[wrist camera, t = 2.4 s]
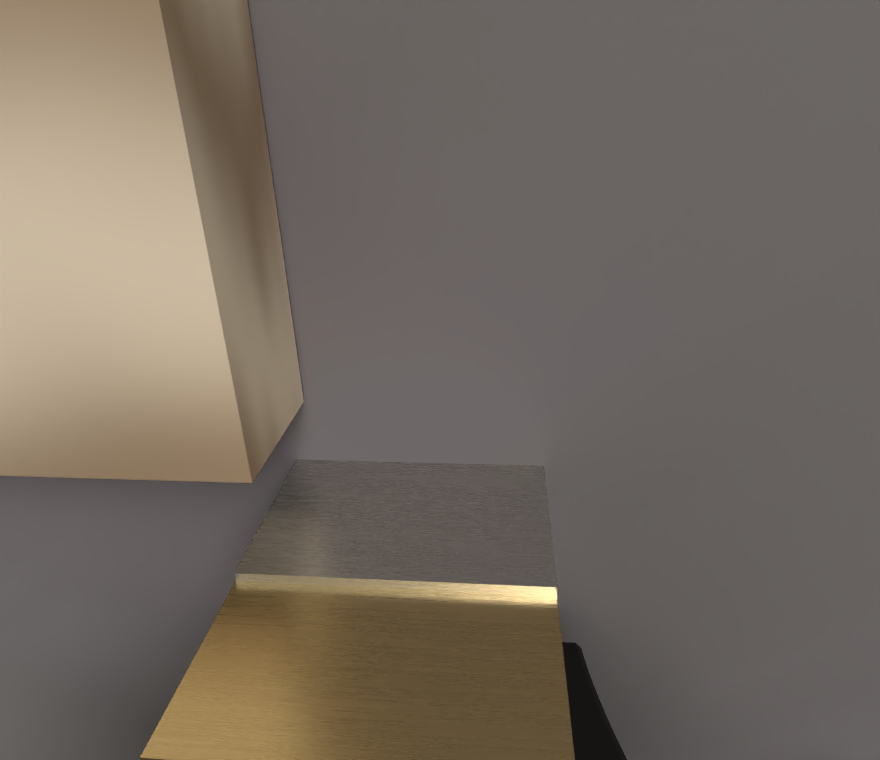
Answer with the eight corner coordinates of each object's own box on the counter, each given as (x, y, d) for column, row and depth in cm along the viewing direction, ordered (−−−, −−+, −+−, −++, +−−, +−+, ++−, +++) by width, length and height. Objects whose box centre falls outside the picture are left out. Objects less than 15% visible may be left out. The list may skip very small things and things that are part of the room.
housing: (530, 737, 14) (546, 1091, 9) (337, 723, 15) (251, 1054, 10) (543, 466, 11) (578, 780, 6) (296, 459, 11) (136, 749, 6)
